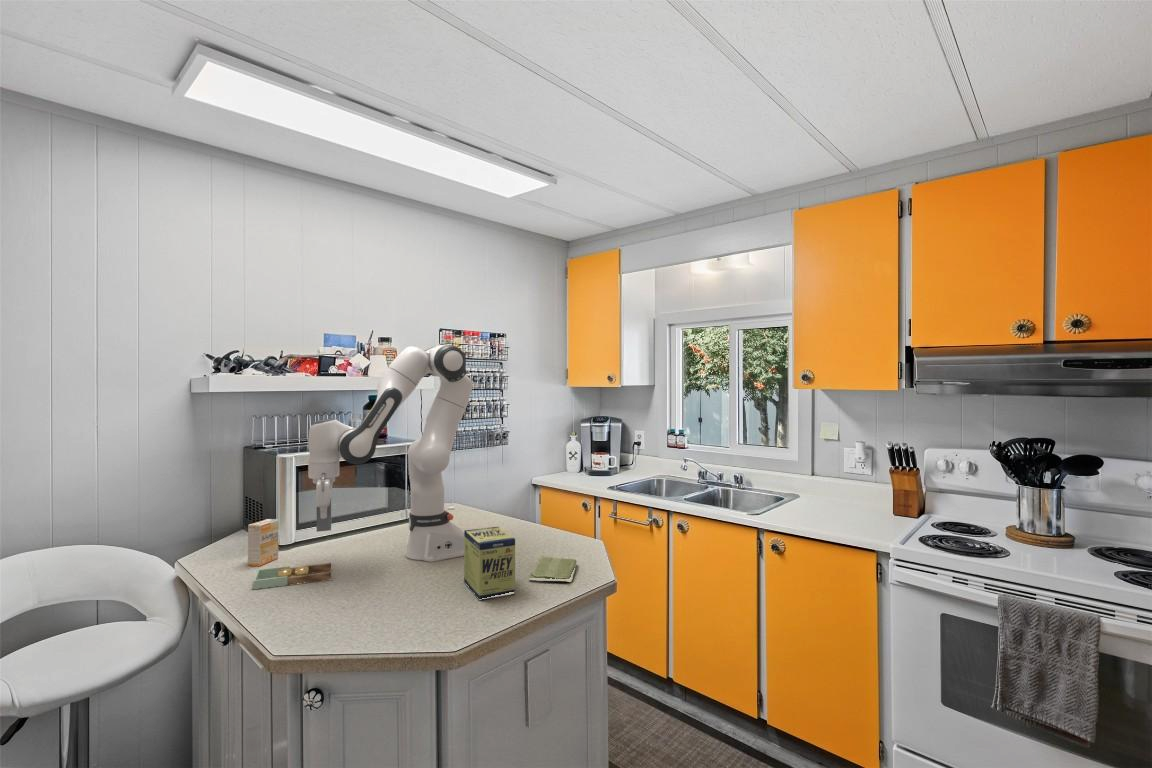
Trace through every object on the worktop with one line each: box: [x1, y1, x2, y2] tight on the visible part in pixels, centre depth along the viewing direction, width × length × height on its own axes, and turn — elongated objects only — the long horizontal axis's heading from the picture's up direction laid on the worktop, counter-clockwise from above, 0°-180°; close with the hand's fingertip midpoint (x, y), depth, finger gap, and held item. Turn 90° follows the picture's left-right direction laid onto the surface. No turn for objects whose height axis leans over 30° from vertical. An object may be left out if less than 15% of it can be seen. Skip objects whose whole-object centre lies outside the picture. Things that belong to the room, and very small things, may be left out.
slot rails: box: [287, 562, 332, 586], centre depth 165 cm, size 12×10×2 cm
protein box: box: [463, 526, 516, 599], centre depth 157 cm, size 10×16×16 cm
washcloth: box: [529, 556, 577, 579], centre depth 170 cm, size 13×18×3 cm
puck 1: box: [277, 567, 292, 577], centre depth 163 cm, size 4×4×3 cm
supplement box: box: [247, 518, 280, 567], centre depth 179 cm, size 8×5×13 cm, turn 168°
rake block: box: [316, 497, 332, 532], centre depth 172 cm, size 4×6×9 cm
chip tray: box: [252, 565, 291, 590], centre depth 161 cm, size 8×10×2 cm
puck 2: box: [294, 565, 309, 576], centre depth 164 cm, size 4×4×3 cm
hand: (324, 515), depth 172 cm, fingers closed on rake block, 5 cm apart
